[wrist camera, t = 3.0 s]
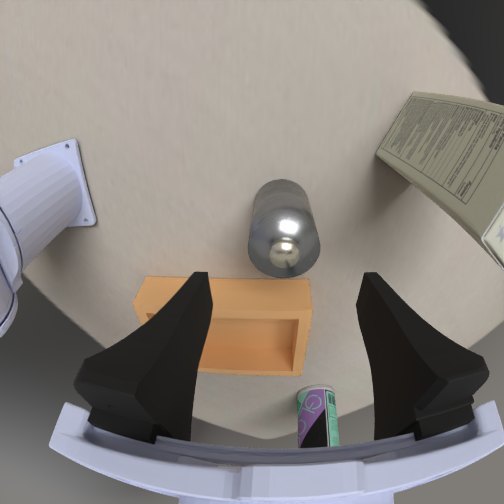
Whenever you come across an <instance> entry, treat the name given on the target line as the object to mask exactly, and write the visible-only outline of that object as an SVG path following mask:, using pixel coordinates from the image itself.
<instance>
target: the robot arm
mask: <svg viewBox="0 0 504 504" xmlns="http://www.w3.org/2000/svg"><path fill="white" fill-rule="evenodd" d="M68 145H69V148H68ZM14 167H15V169H13V170H11V171H9V172H8V173H6V174H4V175H3V176H1V177H0V338H1V337H2V335H4V333H5V332H6V331H7V330H8V328H9V327H10V325H11V323H12V322H13V320H14V317H15V315H16V312H17V308H18V299H17V296H16V293H15V292H16V291H17V290H18V288H19V287H20V286H21V285H22V283H23V282H22V279H21V273H22V271H23V270H24V269H25V268H26V267H27V266H28V265H29V264H30V263H31V262H32V260H33V259H34V258H35V257H36V256H37V255H38V254H39V253H40V252H41V251H42V250H43V249H44V248H45V247H46V246H47V245H48V244H49V243H50V242H51V241H52V240H53V239H54V238H55V237H56V236H57V235H58V234H59V233H60V232H61V231H62V230H63V229H64V228H65V227H74V226H90V225H94V224H95V223H96V216H95V213H94V209H93V206H92V202H91V199H90V195H89V191H88V187H87V183H86V179H85V175H84V171H83V166H82V162H81V157H80V152H79V147H78V143H77V141H76V140H75V139H71V140H67V141H64V142H61V143H58V144H55V145H52V146H49V147H46V148H43V149H40V150H37V151H34V152H32V153H29V154H27V155H24V156H21V157H19V158H17V159H15V160H14ZM86 219H87V220H88V221H87V220H86ZM356 308H357V315H358V321H359V326H360V329H361V333H362V336H363V340H364V344H365V347H366V351H367V355H368V358H369V362H370V367H371V374H372V382H373V393H374V409H375V410H374V411H375V430H374V441H370V442H364V443H357V444H350V445H341V446H331V447H318V448H298V449H262V448H261V449H259V448H241V447H229V446H218V445H210V444H202V443H195V442H190V438H191V422H192V421H191V420H192V411H193V401H194V393H195V385H196V379H197V372H198V367H199V363H200V359H201V355H202V352H203V348H204V345H205V341H206V338H207V334H208V330H209V327H210V323H211V317H212V310H213V300H212V295H211V289H210V283H209V278H208V272H194V273H193V274H192V275H191V276H190V277H189V279H188V280H187V281H186V282H185V283H184V284H183V286H182V287H181V288H180V289H179V290H178V291H177V292H176V293H175V295H174V296H173V297H172V298H171V299H170V300H169V301H168V302H167V303H166V304H165V305H164V306H163V307H162V308H161V309H160V310H159V311H158V312H157V313H156V314H155V315H154V316H153V317H152V318H151V319H149V320H148V321H147V322H146V323H145V324H143V325H142V326H141V327H140V328H138V329H137V330H136V331H134V332H133V333H131V334H130V335H128V336H127V337H126V338H124V339H123V340H121V341H119V342H118V343H116V344H114V345H113V346H111V347H109V348H107V349H106V350H104V351H102V352H100V353H97V354H95V355H93V356H91V357H89V358H87V359H85V360H84V362H83V364H82V366H81V368H80V370H79V372H78V374H77V377H76V379H75V381H74V387H75V389H76V391H77V392H78V393H79V394H80V395H81V396H82V397H83V398H84V399H85V400H86V401H87V402H88V403H89V404H90V405H91V406H92V410H91V412H89V411H87V410H85V409H83V408H81V407H78V406H75V405H73V404H70V403H68V402H66V403H65V404H64V407H63V409H62V412H61V414H60V416H59V419H58V422H57V424H56V427H55V429H54V432H53V435H52V437H51V440H50V443H49V447H50V448H52V449H54V450H55V451H57V452H59V453H61V454H62V455H64V456H66V457H68V458H70V459H71V460H73V461H75V462H77V463H79V464H81V465H83V466H85V467H88V468H90V469H92V470H94V471H97V472H99V473H102V474H104V475H106V476H109V477H112V478H114V479H117V480H120V481H123V482H125V483H128V484H131V485H134V486H137V487H140V488H144V489H147V490H151V491H154V492H158V493H161V494H166V495H169V496H174V497H178V498H179V504H394V496H393V493H395V492H399V491H402V490H406V489H409V488H412V487H415V486H418V485H421V484H424V483H427V482H429V481H432V480H435V479H437V478H440V477H443V476H445V475H447V474H450V473H452V472H454V471H456V470H459V469H461V468H463V467H465V466H468V465H470V464H471V463H474V462H476V461H477V460H479V459H481V458H483V457H485V456H486V455H488V454H490V453H491V452H493V451H495V450H496V449H498V448H500V447H501V446H503V445H504V431H503V427H502V424H501V421H500V417H499V414H498V411H497V407H496V404H495V402H494V400H492V401H490V402H487V403H485V404H482V405H480V406H478V407H476V408H474V409H472V406H471V404H472V403H474V399H473V396H472V395H473V394H474V393H475V392H476V391H477V390H478V389H479V388H480V387H481V386H482V385H483V384H484V383H485V382H486V380H487V378H488V377H489V370H488V368H487V365H486V363H485V361H484V358H483V357H482V356H480V355H478V354H476V353H474V352H471V351H469V350H467V349H466V348H464V347H462V346H460V345H459V344H457V343H455V342H454V341H452V340H450V339H449V338H447V337H446V336H444V335H443V334H442V333H440V332H439V331H437V330H436V329H435V328H433V327H432V326H431V325H430V324H428V323H427V322H426V321H425V320H424V319H422V318H421V317H420V316H419V315H418V314H417V313H416V312H415V311H414V310H413V309H412V308H410V307H409V306H408V305H407V304H406V303H405V302H404V301H403V300H402V299H401V298H400V296H399V295H398V294H397V293H396V292H395V291H394V290H393V289H392V288H391V287H390V286H389V285H388V284H387V283H386V282H385V281H384V280H383V278H382V277H381V276H380V275H379V274H378V273H377V272H366V273H364V276H363V280H362V284H361V288H360V292H359V296H358V299H357V303H356ZM215 463H216V464H215ZM217 464H226V465H237V466H238V465H239V466H244V467H218V465H217Z"/></svg>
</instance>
